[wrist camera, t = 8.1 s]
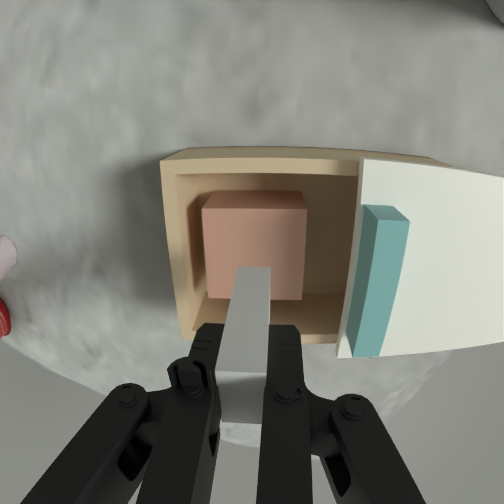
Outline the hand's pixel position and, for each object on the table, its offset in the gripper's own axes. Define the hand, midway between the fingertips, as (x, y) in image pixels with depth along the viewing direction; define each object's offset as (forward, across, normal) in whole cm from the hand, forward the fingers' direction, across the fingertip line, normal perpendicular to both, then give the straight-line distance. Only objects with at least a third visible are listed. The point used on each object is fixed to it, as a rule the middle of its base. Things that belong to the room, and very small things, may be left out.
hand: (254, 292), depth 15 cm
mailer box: (+10, +4, 0) cm, 10 cm away
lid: (+3, +15, 0) cm, 15 cm away
